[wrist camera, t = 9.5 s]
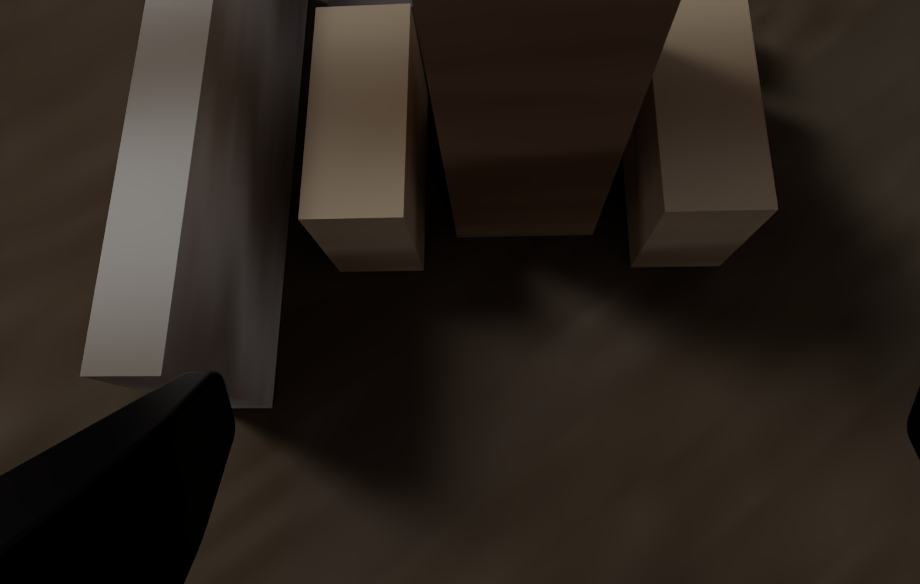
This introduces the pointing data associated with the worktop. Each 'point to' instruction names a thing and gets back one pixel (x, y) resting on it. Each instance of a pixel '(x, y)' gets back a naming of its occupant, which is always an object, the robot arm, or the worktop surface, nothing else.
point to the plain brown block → (536, 105)
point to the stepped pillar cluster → (359, 171)
